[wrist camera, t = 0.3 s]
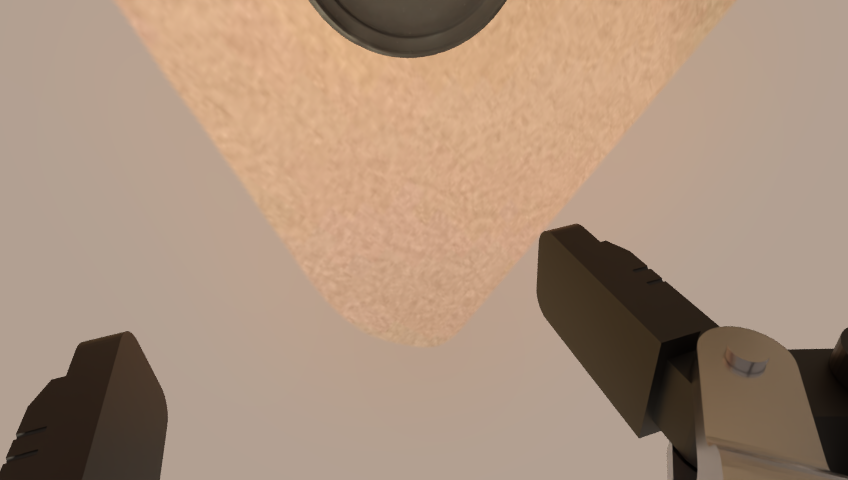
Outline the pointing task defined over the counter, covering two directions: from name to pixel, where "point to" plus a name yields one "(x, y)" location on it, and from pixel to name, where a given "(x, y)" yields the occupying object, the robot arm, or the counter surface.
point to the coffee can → (408, 23)
